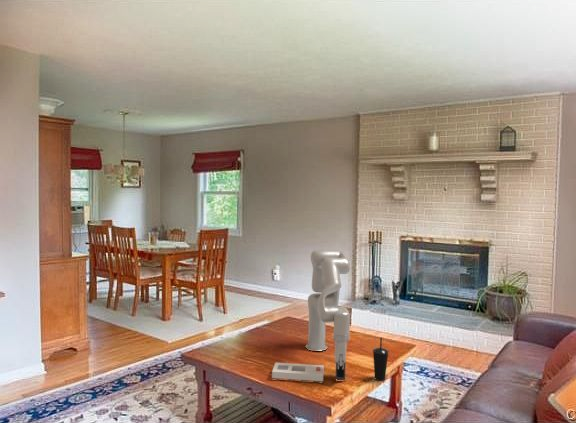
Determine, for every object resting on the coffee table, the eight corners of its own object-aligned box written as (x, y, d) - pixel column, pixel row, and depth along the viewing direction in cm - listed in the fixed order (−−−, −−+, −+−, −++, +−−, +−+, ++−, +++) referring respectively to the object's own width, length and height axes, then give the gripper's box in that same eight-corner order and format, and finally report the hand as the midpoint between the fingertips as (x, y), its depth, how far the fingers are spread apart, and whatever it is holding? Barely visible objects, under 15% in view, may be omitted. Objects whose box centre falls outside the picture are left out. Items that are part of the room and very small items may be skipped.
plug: (335, 377, 218) (335, 358, 218) (344, 377, 218) (345, 359, 218) (335, 381, 214) (336, 362, 214) (345, 381, 213) (345, 362, 213)
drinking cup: (368, 376, 220) (370, 335, 219) (382, 374, 223) (383, 334, 222) (377, 382, 213) (378, 340, 212) (391, 380, 216) (392, 339, 215)
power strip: (275, 370, 225) (275, 360, 225) (323, 373, 223) (323, 363, 223) (271, 380, 213) (272, 370, 213) (323, 383, 211) (323, 373, 211)
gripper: (333, 331, 224) (332, 367, 225) (333, 342, 207) (332, 381, 208) (348, 332, 223) (347, 368, 224) (349, 343, 206) (348, 382, 207)
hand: (340, 374), depth 216 cm, fingers closed on plug, 4 cm apart
